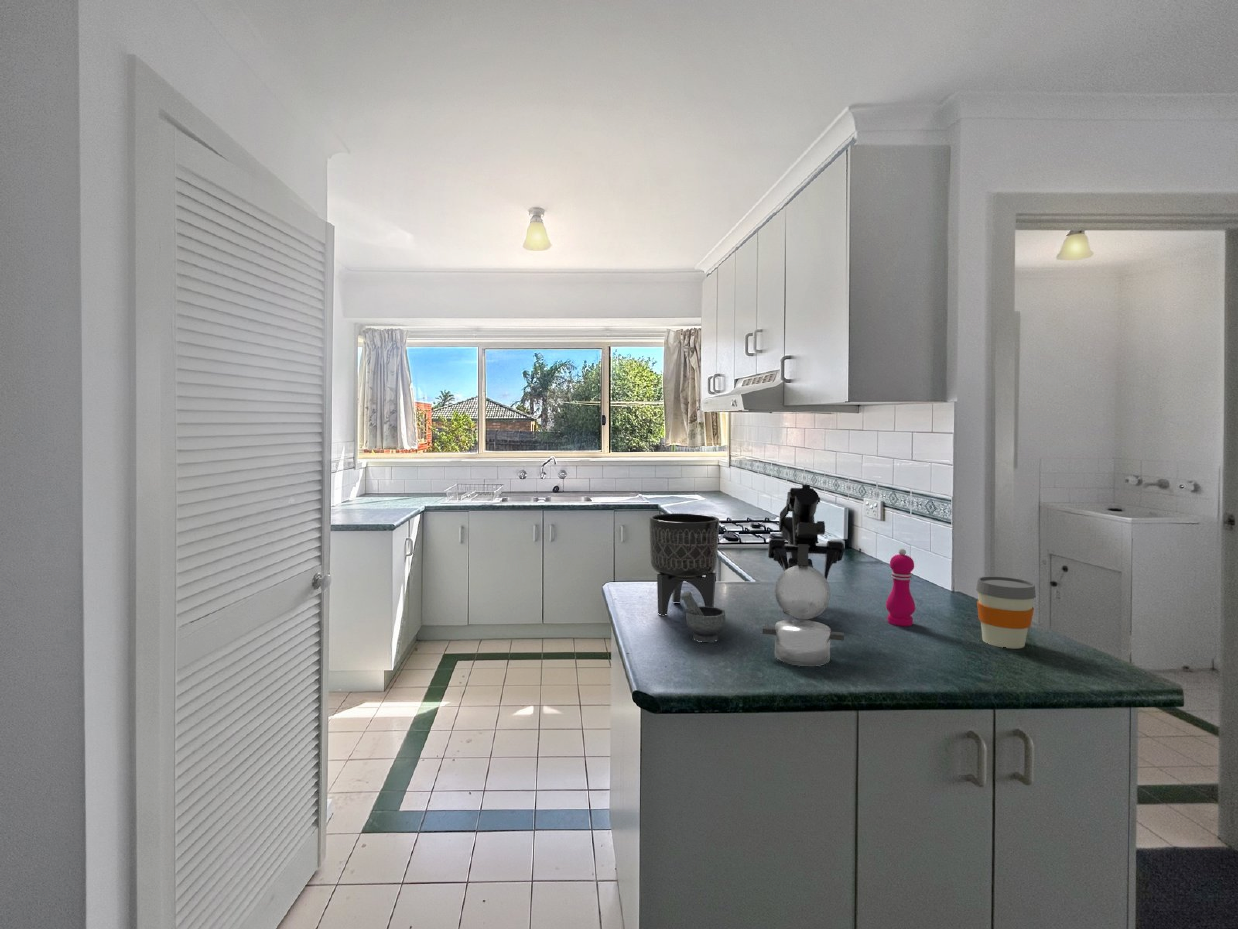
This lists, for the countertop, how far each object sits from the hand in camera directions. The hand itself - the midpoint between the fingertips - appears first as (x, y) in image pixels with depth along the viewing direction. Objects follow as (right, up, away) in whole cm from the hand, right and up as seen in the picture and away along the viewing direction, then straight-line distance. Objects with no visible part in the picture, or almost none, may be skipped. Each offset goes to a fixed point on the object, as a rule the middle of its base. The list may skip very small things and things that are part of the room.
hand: (807, 578), depth 168 cm
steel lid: (-4, +1, -10) cm, 11 cm away
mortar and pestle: (-27, -14, -6) cm, 31 cm away
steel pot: (-6, -15, -18) cm, 24 cm away
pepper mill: (+28, -14, +10) cm, 32 cm away
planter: (-30, -13, +20) cm, 38 cm away
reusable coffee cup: (+46, -15, -6) cm, 49 cm away
